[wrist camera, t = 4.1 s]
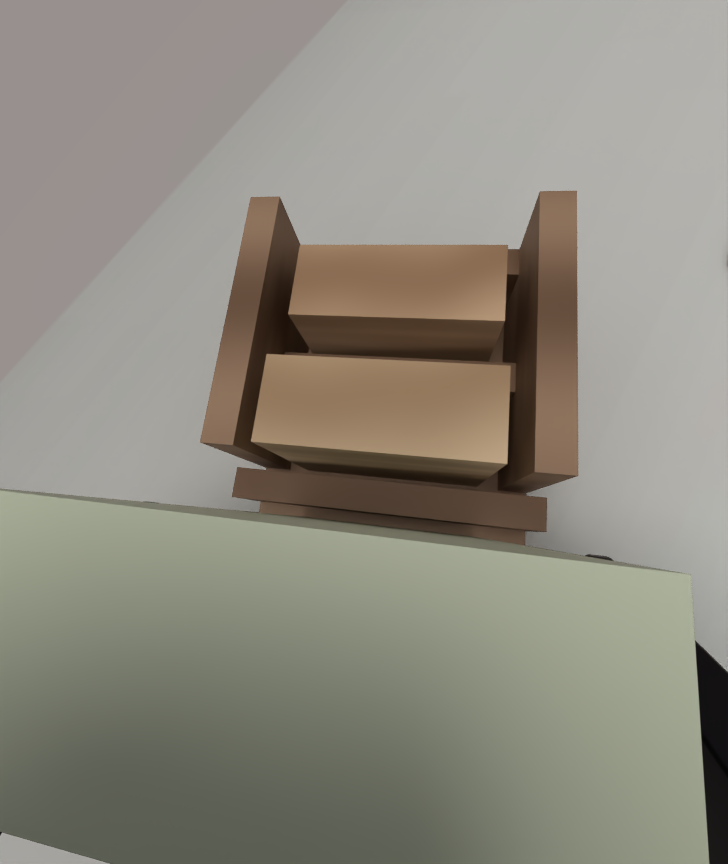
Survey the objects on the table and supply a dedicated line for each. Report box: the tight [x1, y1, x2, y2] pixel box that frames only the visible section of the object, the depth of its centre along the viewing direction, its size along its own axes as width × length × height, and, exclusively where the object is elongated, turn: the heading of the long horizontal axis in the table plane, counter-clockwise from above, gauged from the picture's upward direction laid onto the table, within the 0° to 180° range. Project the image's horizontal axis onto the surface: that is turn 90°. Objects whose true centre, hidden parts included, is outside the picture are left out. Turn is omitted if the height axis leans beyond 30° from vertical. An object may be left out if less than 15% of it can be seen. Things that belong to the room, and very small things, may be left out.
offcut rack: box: [200, 191, 578, 546], centre depth 14 cm, size 15×10×6 cm, turn 174°
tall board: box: [0, 489, 709, 864], centre depth 9 cm, size 2×6×12 cm, turn 84°
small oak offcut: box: [288, 245, 508, 362], centre depth 14 cm, size 2×6×4 cm, turn 84°
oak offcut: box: [251, 354, 511, 487], centre depth 13 cm, size 2×6×6 cm, turn 84°
